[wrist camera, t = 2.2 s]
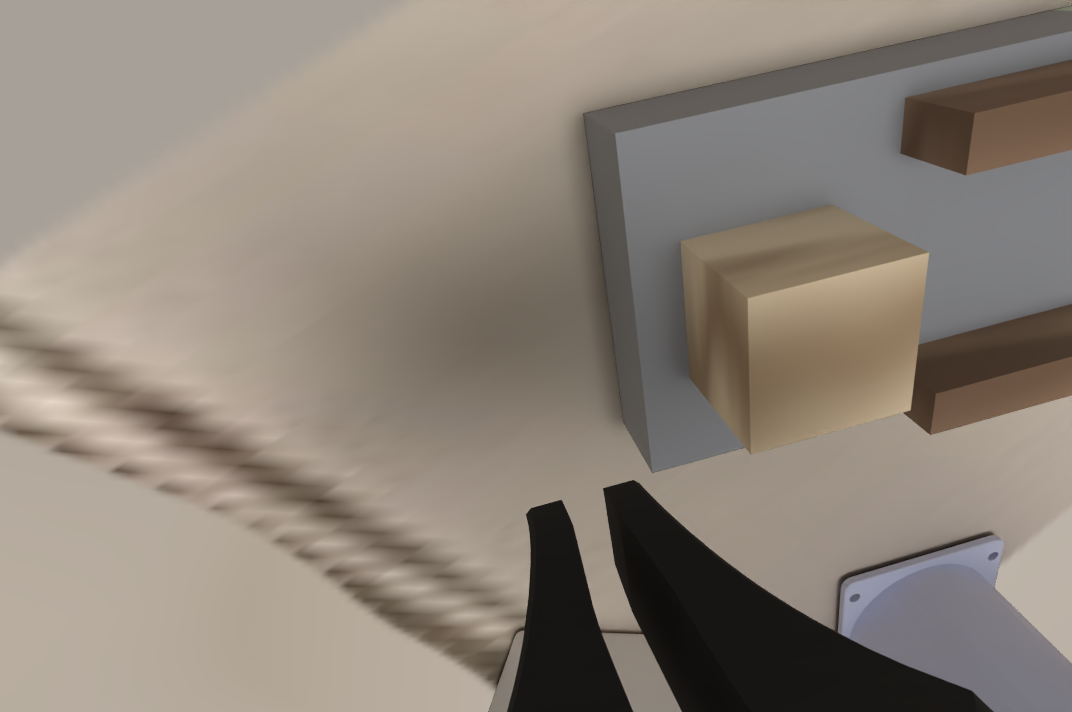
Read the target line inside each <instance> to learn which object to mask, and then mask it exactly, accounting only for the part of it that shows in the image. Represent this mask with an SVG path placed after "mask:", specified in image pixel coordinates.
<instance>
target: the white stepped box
mask: <svg viewBox="0 0 1072 712" xmlns="http://www.w3.org/2000/svg"><path fill="white" fill-rule="evenodd" d="M602 635H603V638H604V640H605V643H606V645H607V648H608V650H609V653H610V656H611V658H612V661H613V663H614V666H615V668H616V671H617V673H618V676H619V678H620V680H621V683H622V685H623V688H624V690H625V693H626V695H627V698H628V700H629V703H630V705H631V707H632V710H633V712H682V711H681V709H680V707H679V705H678V703H677V701H676V699H675V697H674V695H673V693H672V691H671V689H670V687H669V685H668V683H667V681H666V679H665V677H664V675H663V673H662V671H661V669H660V667H659V665H658V663H657V661H656V659H655V657H654V655H653V653H652V651H651V649H650V647H649V645H648V643H647V641H646V639H645V636H644V634H621V633H602ZM523 637H524V630H523V631H520V632H518V633H517V634H516V636H515V638H514V641H513V644H512V646H511V649H510V652H509V655H508V658H507V660H506V663H505V666H504V669H503V672H502V675H501V677H500V680H499V683H498V686H497V689H496V692H495V694H494V697H493V700H492V703H491V706H490V708H489V711H488V712H507V709H508V706H509V702H510V698H511V694H512V691H513V686H514V682H515V678H516V673H517V669H518V664H519V659H520V654H521V648H522V643H523Z"/></svg>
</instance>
